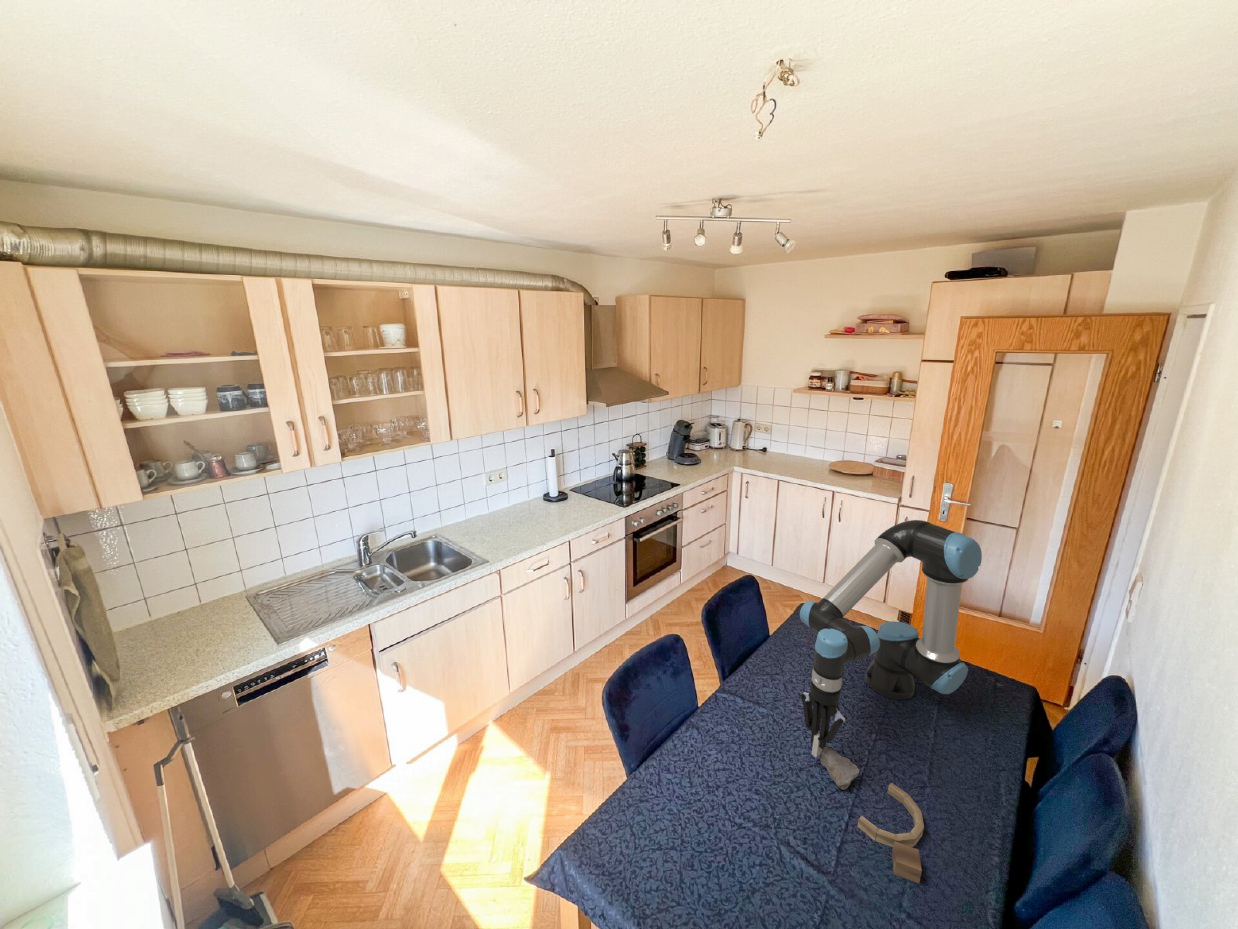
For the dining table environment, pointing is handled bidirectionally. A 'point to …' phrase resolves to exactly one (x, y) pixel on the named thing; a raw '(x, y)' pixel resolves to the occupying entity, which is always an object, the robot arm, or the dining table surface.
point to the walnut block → (906, 862)
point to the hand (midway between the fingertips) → (816, 753)
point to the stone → (839, 768)
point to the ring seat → (888, 837)
